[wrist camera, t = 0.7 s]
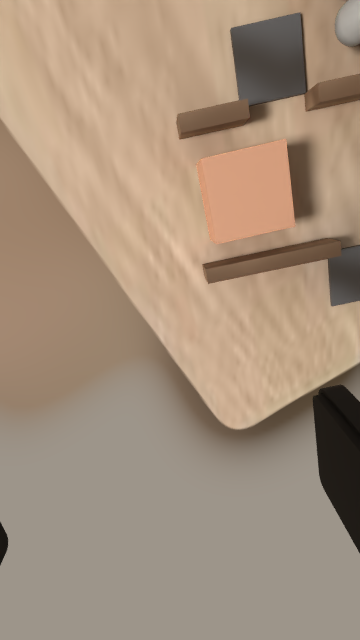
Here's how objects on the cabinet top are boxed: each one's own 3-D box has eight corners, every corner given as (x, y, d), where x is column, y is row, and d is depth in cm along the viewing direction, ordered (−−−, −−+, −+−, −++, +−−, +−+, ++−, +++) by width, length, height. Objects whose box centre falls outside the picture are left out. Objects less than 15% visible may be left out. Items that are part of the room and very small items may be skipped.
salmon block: (196, 164, 28) (201, 158, 24) (269, 147, 27) (286, 138, 24) (210, 239, 30) (216, 244, 26) (278, 223, 29) (295, 226, 26)
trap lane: (162, 45, 25) (162, 28, 22) (465, -24, 24) (498, -48, 22) (214, 329, 32) (218, 339, 30) (449, 280, 31) (472, 287, 29)
